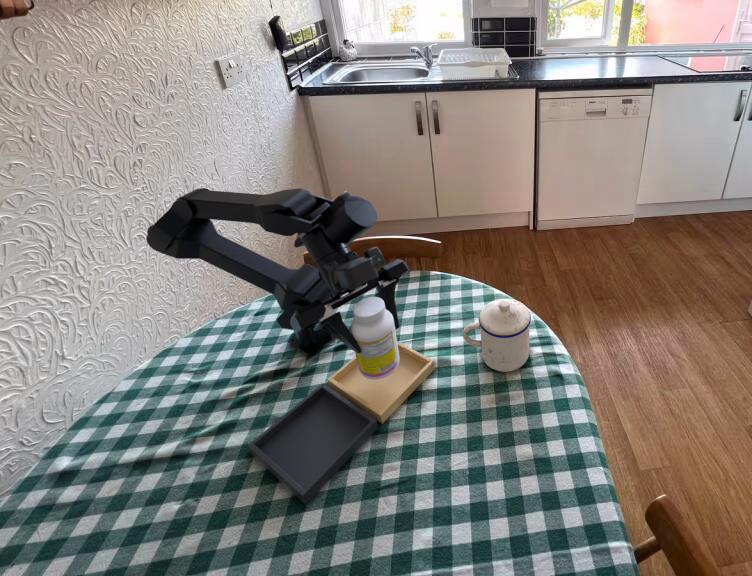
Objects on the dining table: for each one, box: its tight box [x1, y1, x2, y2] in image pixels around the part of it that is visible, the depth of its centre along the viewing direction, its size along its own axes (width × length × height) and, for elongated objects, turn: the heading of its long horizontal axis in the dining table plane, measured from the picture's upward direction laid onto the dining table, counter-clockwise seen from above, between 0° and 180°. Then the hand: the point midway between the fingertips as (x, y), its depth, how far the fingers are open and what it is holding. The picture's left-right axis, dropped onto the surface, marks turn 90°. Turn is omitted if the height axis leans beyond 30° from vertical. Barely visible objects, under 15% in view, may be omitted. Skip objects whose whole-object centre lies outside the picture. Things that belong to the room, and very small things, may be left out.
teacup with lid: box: [462, 298, 532, 373], centre depth 73 cm, size 12×9×12 cm
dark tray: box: [247, 383, 379, 505], centre depth 61 cm, size 13×12×2 cm
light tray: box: [326, 340, 436, 425], centre depth 71 cm, size 13×12×2 cm
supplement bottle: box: [349, 296, 400, 380], centre depth 67 cm, size 7×7×13 cm
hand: (379, 340), depth 66 cm, fingers closed on supplement bottle, 6 cm apart
